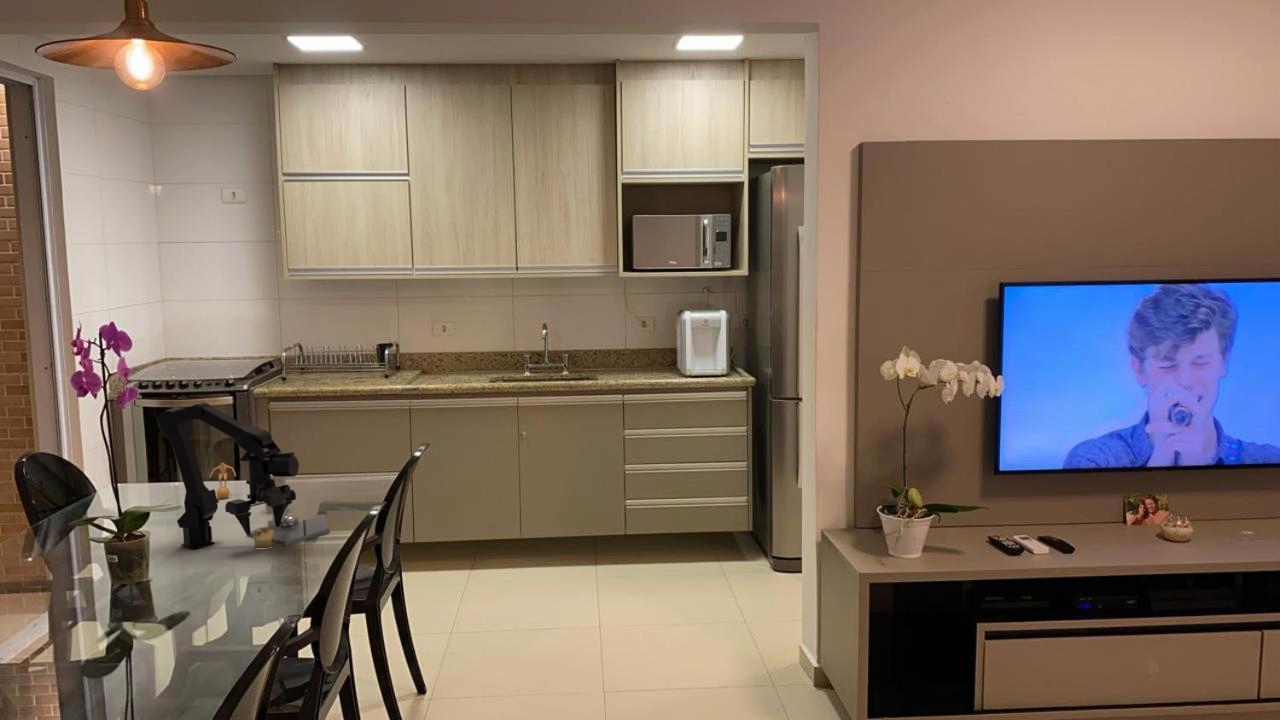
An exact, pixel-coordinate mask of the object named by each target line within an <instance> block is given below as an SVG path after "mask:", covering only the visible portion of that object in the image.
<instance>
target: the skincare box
mask: <svg viewBox="0 0 1280 720" xmlns="http://www.w3.org/2000/svg"><path fill="white" fill-rule="evenodd" d="M271 479H274V481H275V485H276V487H279V486H280V487H281V486H283V485H287V480H286V479H287V477H274V476H272V475H271ZM264 504H265V514H266V515H268V514H273V508H272V507H270V506H268V505H267V504H266V503H264ZM288 509H289V505H288V506H287V511H288Z"/></svg>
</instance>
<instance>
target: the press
mask: <svg viewBox="0 0 1280 720" xmlns="http://www.w3.org/2000/svg"><path fill="white" fill-rule="evenodd" d="M294 518H296V523H295V524H294V525H287V526H283V527H282V526H281V523H280V526H279V527H276V525H275V521H272V519H271V520H268V521H267V524H268V526H267V527H272V528H273V534H274V544H277V545H281V546H290V545H293V544H296V543H299V542H303V541H306V540H310V539H313V538H316V537H320V536H322V535H326V534H329V533H330V532H331V530H330V527H329V528H328V527H327V515H326V514H324V513H323V514H319V515H315V516H312V517H308V518H303V520H302V521H299V517H296V516H294ZM254 530H255V529H254ZM254 530H250V535H247V534H246V537H248V538H252V537H253V538H252V539H254Z"/></svg>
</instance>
